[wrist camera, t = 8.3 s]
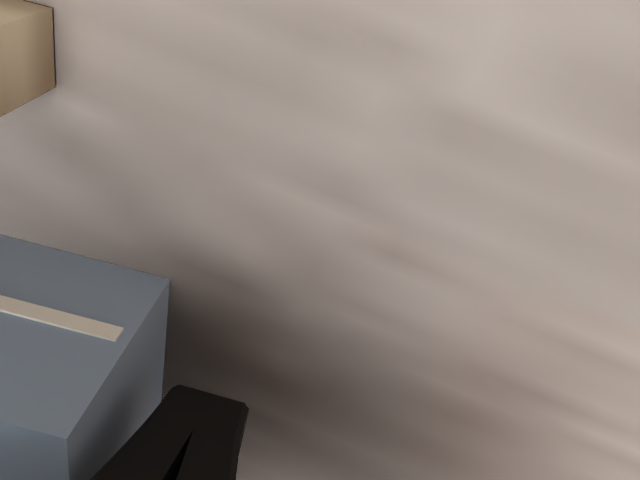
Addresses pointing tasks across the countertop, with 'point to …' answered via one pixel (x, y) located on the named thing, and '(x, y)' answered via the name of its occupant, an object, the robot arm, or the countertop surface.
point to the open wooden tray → (25, 53)
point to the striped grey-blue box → (74, 359)
